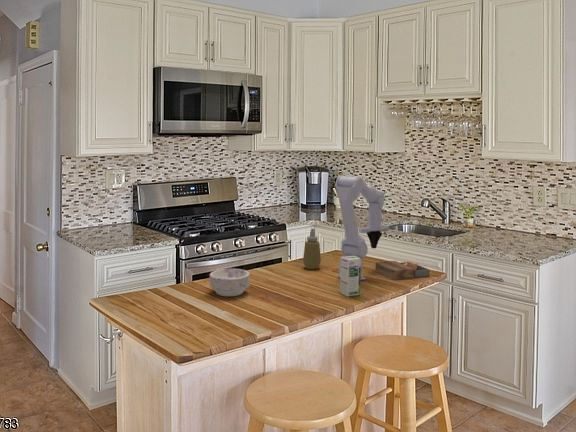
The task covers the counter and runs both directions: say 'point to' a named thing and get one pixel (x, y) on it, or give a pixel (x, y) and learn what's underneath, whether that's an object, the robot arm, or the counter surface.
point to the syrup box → (350, 276)
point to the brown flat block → (394, 270)
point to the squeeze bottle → (312, 252)
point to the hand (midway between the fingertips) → (373, 248)
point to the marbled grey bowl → (229, 281)
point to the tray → (420, 271)
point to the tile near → (412, 265)
